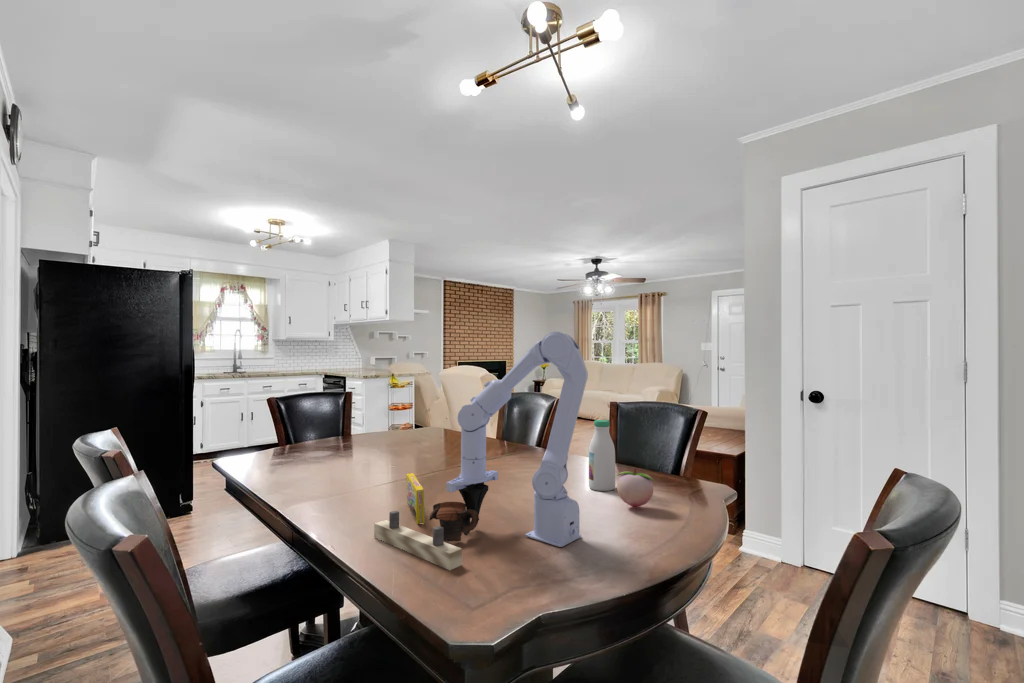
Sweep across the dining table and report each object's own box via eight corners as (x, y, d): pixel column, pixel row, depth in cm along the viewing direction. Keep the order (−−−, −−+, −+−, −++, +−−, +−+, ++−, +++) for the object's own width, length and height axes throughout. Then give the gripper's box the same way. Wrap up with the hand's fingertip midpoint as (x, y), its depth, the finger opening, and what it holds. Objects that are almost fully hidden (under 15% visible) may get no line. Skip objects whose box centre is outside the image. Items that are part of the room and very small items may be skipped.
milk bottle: (619, 487, 143) (618, 420, 143) (609, 493, 136) (609, 422, 137) (594, 483, 147) (594, 418, 148) (584, 489, 140) (584, 420, 141)
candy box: (405, 505, 125) (406, 473, 125) (413, 504, 126) (414, 472, 126) (415, 525, 110) (416, 489, 110) (425, 524, 111) (425, 488, 111)
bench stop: (461, 565, 89) (462, 532, 89) (449, 570, 87) (450, 536, 87) (386, 533, 104) (386, 505, 105) (374, 537, 102) (374, 509, 102)
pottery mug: (419, 544, 100) (420, 504, 104) (442, 550, 107) (443, 512, 112) (470, 536, 96) (470, 494, 101) (491, 542, 104) (489, 503, 108)
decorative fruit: (615, 511, 120) (615, 471, 121) (617, 501, 128) (617, 464, 128) (654, 515, 118) (653, 474, 118) (654, 505, 125) (654, 467, 126)
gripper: (483, 450, 117) (482, 506, 116) (437, 459, 106) (436, 521, 105) (504, 454, 112) (504, 512, 112) (459, 464, 101) (458, 529, 101)
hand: (473, 517), depth 108 cm, fingers closed
